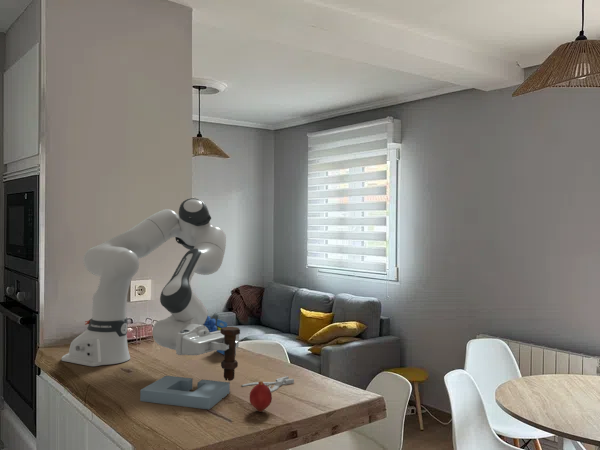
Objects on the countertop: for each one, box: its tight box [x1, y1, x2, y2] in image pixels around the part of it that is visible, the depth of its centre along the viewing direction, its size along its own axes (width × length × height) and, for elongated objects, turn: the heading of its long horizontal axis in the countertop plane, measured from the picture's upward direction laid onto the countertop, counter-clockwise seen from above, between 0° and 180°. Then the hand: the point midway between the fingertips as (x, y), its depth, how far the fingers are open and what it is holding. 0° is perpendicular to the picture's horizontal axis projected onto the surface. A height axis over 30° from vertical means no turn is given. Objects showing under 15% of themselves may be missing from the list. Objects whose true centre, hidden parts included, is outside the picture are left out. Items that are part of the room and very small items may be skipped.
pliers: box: [241, 375, 295, 393], centre depth 161 cm, size 10×2×15 cm
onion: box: [249, 380, 273, 412], centre depth 140 cm, size 6×6×8 cm
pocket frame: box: [139, 375, 231, 410], centre depth 149 cm, size 20×14×3 cm
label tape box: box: [216, 318, 237, 356], centre depth 198 cm, size 9×4×12 cm, turn 34°
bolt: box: [220, 326, 241, 382], centre depth 158 cm, size 6×5×15 cm
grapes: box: [204, 315, 217, 332], centre depth 206 cm, size 12×7×12 cm, turn 131°
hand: (232, 345), depth 157 cm, fingers open, 3 cm apart
